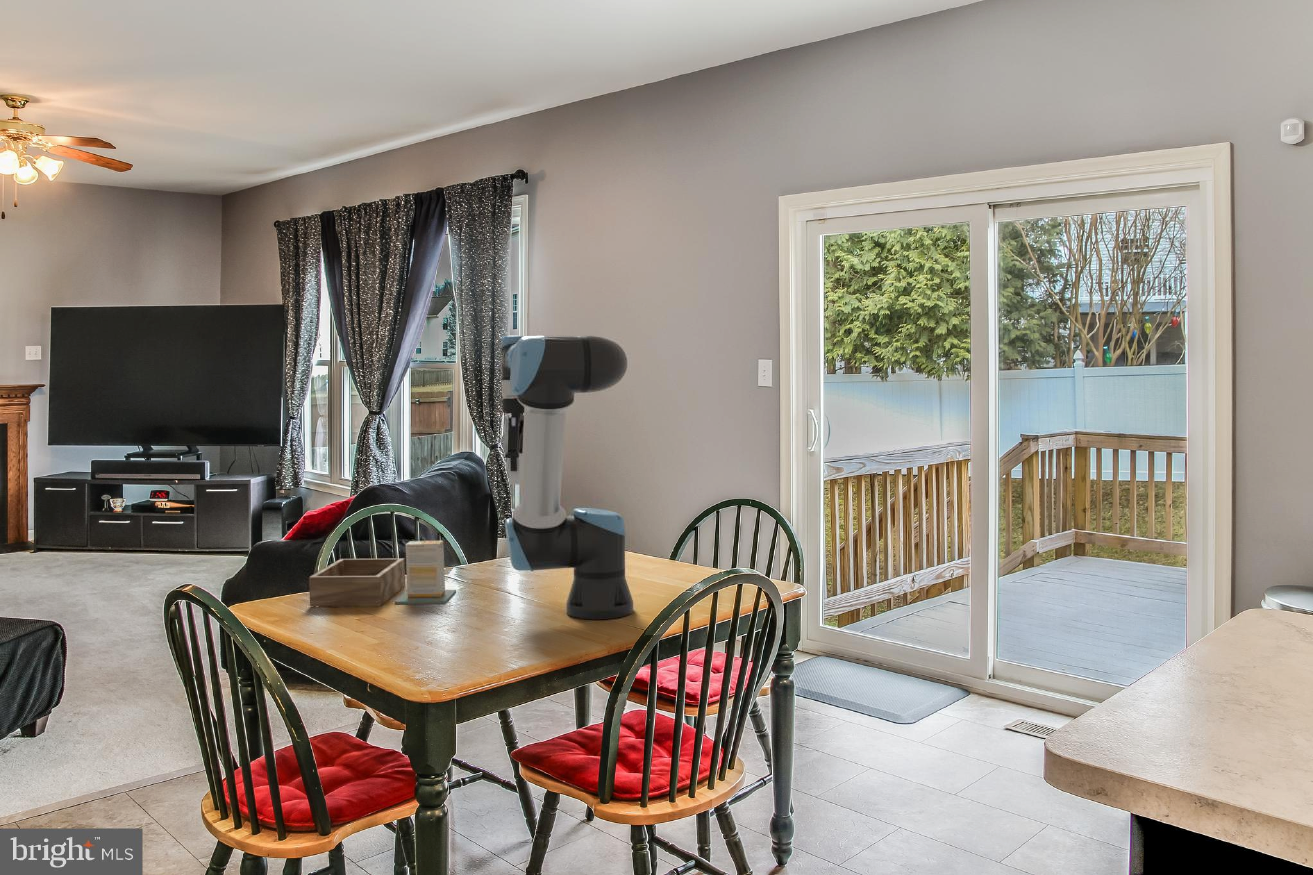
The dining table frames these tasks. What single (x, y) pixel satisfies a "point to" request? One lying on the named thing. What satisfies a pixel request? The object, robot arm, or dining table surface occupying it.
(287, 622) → the dining table surface
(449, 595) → the mat
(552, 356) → the robot arm
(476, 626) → the dining table surface
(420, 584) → the supplement box
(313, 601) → the crate
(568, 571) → the dining table surface
